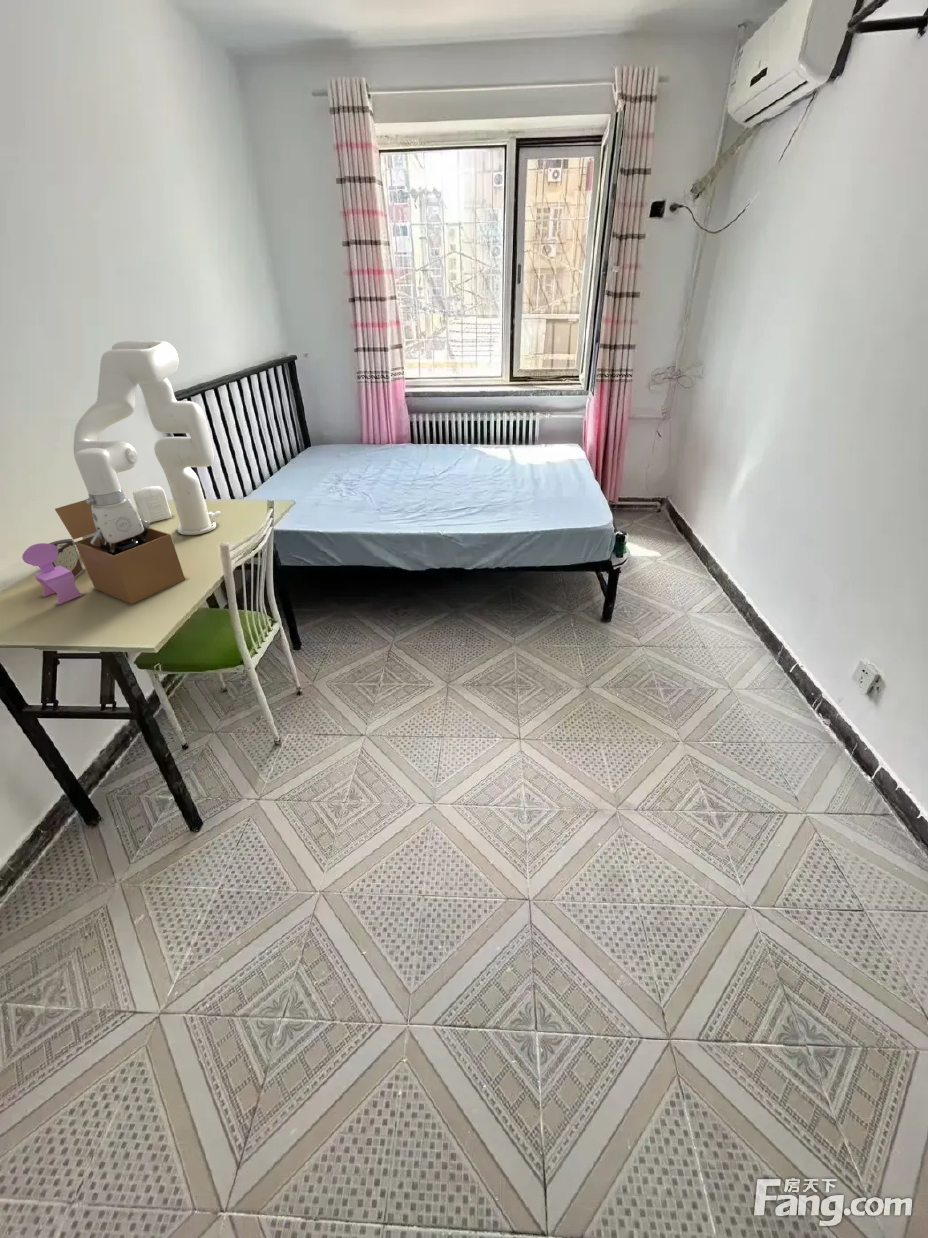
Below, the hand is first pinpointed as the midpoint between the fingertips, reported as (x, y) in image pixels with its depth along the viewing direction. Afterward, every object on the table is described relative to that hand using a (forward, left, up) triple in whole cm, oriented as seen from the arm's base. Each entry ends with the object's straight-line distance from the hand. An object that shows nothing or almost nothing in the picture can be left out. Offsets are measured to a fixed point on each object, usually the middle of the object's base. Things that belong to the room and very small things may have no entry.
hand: (130, 557), depth 147 cm
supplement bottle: (0, 0, -4) cm, 4 cm away
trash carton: (0, 0, -8) cm, 8 cm away
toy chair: (+15, -12, -8) cm, 21 cm away
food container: (+9, -23, -8) cm, 26 cm away
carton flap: (0, -10, +11) cm, 15 cm away
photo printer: (-33, -41, -9) cm, 53 cm away
